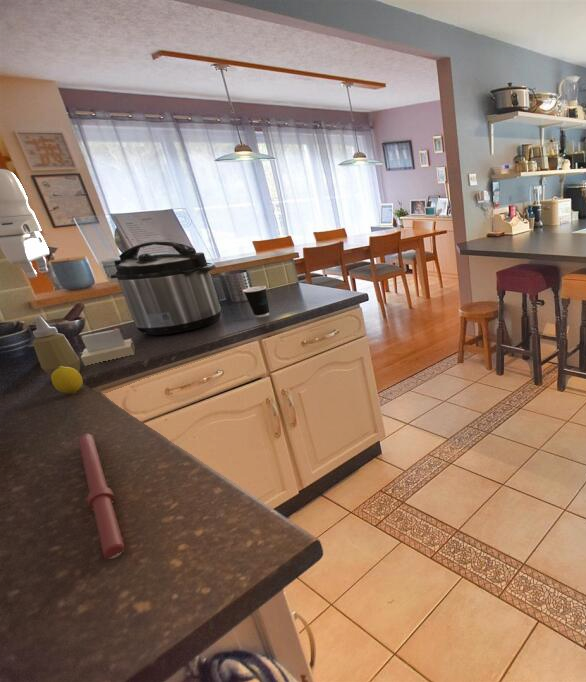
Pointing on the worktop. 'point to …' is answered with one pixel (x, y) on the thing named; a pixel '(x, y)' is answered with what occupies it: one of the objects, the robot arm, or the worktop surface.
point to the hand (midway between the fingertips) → (39, 274)
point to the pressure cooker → (168, 289)
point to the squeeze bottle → (53, 348)
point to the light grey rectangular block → (103, 340)
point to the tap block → (108, 353)
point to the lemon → (66, 379)
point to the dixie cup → (258, 300)
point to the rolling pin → (100, 498)
